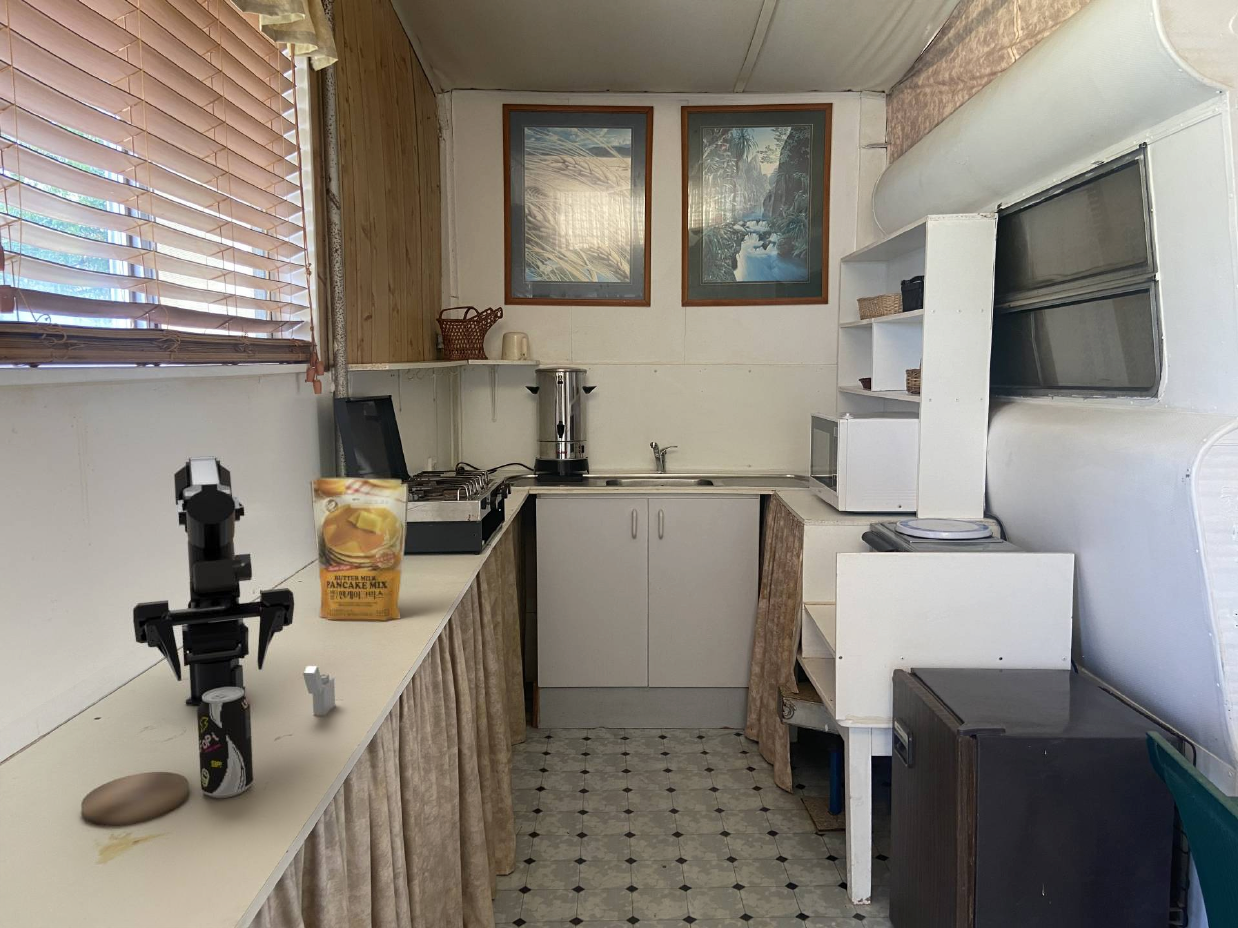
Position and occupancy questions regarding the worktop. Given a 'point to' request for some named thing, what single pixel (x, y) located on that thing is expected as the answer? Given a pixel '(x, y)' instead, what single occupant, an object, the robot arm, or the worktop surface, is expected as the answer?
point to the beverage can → (225, 742)
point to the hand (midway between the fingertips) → (220, 673)
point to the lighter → (320, 690)
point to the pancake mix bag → (360, 546)
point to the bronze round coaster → (135, 798)
